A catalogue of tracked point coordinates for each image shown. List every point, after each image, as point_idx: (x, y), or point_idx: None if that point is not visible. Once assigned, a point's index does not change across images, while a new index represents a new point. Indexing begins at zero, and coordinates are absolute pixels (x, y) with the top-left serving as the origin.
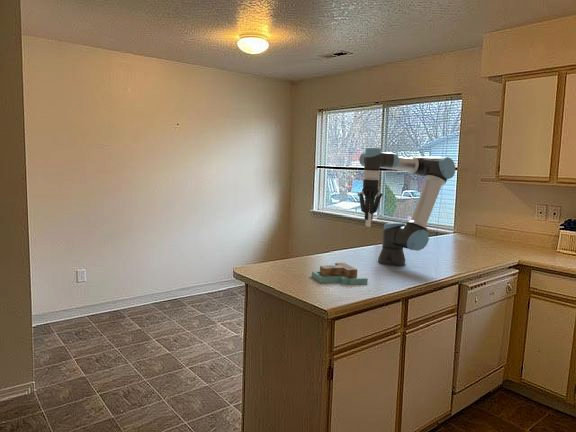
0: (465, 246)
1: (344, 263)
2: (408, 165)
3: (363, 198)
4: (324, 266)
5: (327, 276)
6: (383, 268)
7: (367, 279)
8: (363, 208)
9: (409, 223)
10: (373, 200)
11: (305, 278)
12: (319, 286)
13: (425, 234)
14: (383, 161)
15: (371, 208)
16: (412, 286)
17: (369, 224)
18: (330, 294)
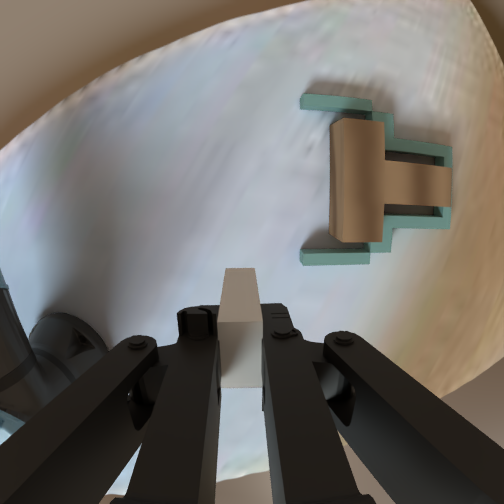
0: None
1: (350, 225)
2: None
3: (491, 483)
4: (441, 194)
5: (431, 154)
6: (126, 291)
7: (303, 94)
8: (383, 359)
9: None
10: (153, 495)
11: (460, 211)
12: (452, 123)
13: None
14: None
15: (213, 375)
16: (149, 54)
17: (240, 273)
18: (443, 54)
